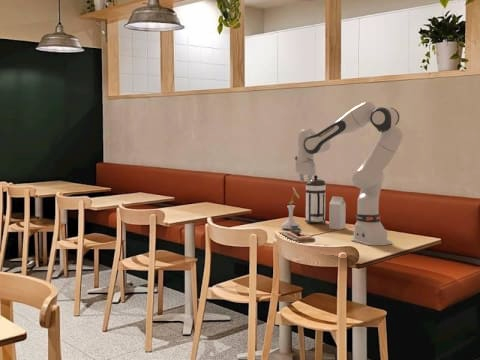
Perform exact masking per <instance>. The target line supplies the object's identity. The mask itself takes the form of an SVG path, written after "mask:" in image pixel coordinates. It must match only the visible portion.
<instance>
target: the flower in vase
mask: <svg viewBox="0 0 480 360" xmlns="http://www.w3.org/2000/svg"><path fill="white" fill-rule="evenodd" d="M292 189H293V194H292V196H291V200H290V201H289V202H288V204H290V205H287V206H286V207H287V209H288V218H287V219H286V220H285V221H284V222H283V223H282V224H281V228H283V229H285V230H291V225H298V229H299V228H301V224H300V223H299V222H298V221H296V219H295V218H294V209H295V207H296V205H293V204H294V203H295V201H294V199H293V198H294V197H293V196H294V195H295V196H296V197H297V199H300V195H299V193H298V192H297V190H296V189H295V187H294V186H292Z"/></svg>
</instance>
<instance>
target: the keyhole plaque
mask: <svg viewBox="0 0 480 360" xmlns="http://www.w3.org/2000/svg"><path fill="white" fill-rule="evenodd" d="M294 230H299V228H298V225H291V229H290V231H286V232H287V234H288V235H290V236H292V237H294V238H296V239H298V240H299V239H311V237H312V236H311V235H309V234H306V233H304V232H302V233H299V236H302V237H298V236H297V235H296V233H294ZM303 233H304V234H303ZM308 235H309V236H308ZM310 236H311V237H310Z"/></svg>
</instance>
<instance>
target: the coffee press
mask: <svg viewBox="0 0 480 360" xmlns="http://www.w3.org/2000/svg"><path fill="white" fill-rule="evenodd" d="M326 185H327V183H326V181H325V180H324V179H320V178H318V175H316V174H315V176H313V179H311V183H307V181H306V182H305V220H304V221H305V222H306V223H307V225H311V224H312V223H322V224H323V225H326V192H327V191H326V190H327V189H326Z"/></svg>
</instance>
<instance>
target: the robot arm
mask: <svg viewBox="0 0 480 360" xmlns="http://www.w3.org/2000/svg"><path fill="white" fill-rule="evenodd" d="M399 122H400V114H399V111H398V110H397V109H395V108H393V107H388V106H379V107H377V106H376V105H375V103H373V102H372V101H364V102H362V103H359V104H357V105H356V106H355V107H353V108H351V109H350V110H349V111H347V112H346V113H345V114H344V115H343V116H341V117H340V118H339V119H337V120H336V121H335V122H334V123H332V124H330V125H329V126H327V127H326V128H324V129H322V130H321V131H320V132H318V133H317V132H316V131H315V130H313V128H306V129H301V130H300V131H299V132H298V137H297V148H298V150H297V155H296V156H294V160H295V171H296V174H299V178H300V182H301V183H304V182H305V177H304V176H307V180H306V182H307V183H311V179H312V178H313V177H314V176H315V175H316V173H317V172H316V163H315V161H314V160H315V159H314V157H315V156H314V154H320V153H325V152H327V151H328V150H329V149H330V146H331V140H332V139H333V138H335V137H337V136H339V135H343V134H350V133H355V132H356V131H358V130H360V129H361V128H363V127H364V126H367V125H368V124H369V123H371V124H372V126H374V128H375V129H376V130H377V131H378V133H379V132H380V135H379V137H378V139H377V140H376V143H375V144H374V146H373V148H372V150H371V151H370V153H369V155H368V156H367V157H366V158H365V160H363V162H362V163H361V165H360V166H359V167H358V168H357V170H356V171H355V172H354V173H353V175H352V176H351V177H352V178H351V181H352V184H353V185H354V186H355V187H356V188H358V189H360V192H359V195H358V197H357V205H356V207H357V213H356V216H355V217H356V222H355V224H354V225H353V226H354V229H353V237H352V238H351V242H356V243H359V244H363V245H367V246H386V245H393V242H392V241H391V240H390V239H388V230H387V229H385V227H384V226H383V224H382V223H381V216H380V213H379V211H380V210H379V204H380V203H379V202H380V194H381V189H382V185H383V182H384V180H385V179H384V178H385V174H384V170H385V169H386V168H387V167H388V166H389V164H390V162H392V159H393V158H394V155H395V154H396V153H397V151H398V149H399V147H400V146H401V143H402V140H403V136H404V133H403V131H402V130H401V129H400V128H399V127H397V125H398V123H399Z"/></svg>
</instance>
